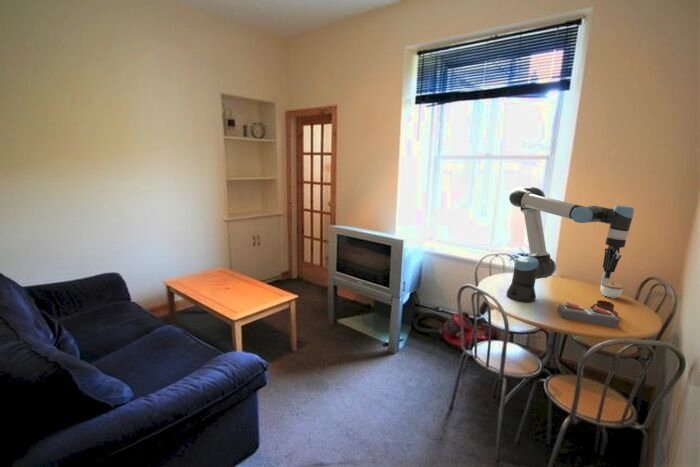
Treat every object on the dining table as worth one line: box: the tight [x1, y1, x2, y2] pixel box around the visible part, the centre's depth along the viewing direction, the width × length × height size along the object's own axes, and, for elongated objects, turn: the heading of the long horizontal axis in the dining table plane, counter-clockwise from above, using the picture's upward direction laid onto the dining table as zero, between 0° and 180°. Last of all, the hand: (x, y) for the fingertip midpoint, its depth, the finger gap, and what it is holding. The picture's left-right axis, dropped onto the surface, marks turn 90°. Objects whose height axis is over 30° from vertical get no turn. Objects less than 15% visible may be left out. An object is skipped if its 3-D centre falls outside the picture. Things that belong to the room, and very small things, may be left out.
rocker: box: [565, 301, 584, 311], centre depth 173 cm, size 7×4×1 cm, turn 72°
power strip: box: [557, 303, 620, 329], centre depth 172 cm, size 24×9×5 cm, turn 72°
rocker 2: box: [593, 305, 612, 315], centre depth 170 cm, size 7×4×1 cm, turn 72°
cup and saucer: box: [590, 299, 619, 317], centre depth 180 cm, size 12×12×6 cm
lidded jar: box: [600, 281, 624, 299], centre depth 206 cm, size 11×11×9 cm
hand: (604, 283), depth 170 cm, fingers closed
